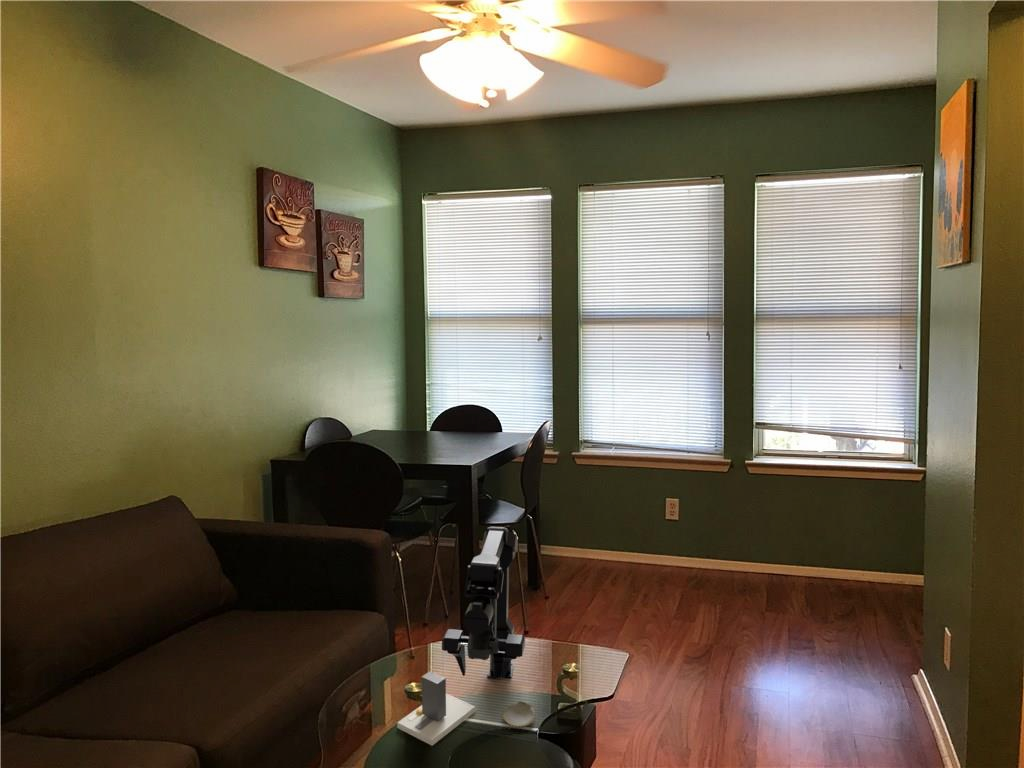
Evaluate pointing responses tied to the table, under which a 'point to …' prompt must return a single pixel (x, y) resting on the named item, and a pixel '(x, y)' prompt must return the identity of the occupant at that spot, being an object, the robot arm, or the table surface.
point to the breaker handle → (434, 696)
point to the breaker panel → (434, 729)
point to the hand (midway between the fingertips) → (483, 676)
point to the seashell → (519, 714)
